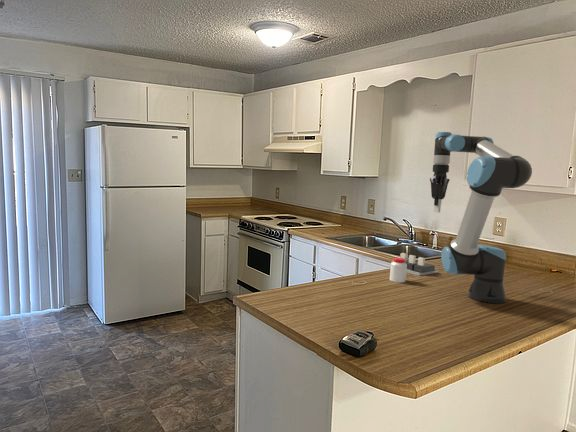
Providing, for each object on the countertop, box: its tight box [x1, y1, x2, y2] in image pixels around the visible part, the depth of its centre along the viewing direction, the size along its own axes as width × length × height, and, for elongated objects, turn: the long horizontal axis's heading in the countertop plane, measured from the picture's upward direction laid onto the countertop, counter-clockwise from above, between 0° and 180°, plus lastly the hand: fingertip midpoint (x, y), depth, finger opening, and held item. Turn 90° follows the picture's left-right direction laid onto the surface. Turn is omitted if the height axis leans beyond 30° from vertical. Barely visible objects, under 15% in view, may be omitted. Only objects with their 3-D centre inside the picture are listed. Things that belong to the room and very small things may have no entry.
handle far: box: [417, 256, 426, 266], centre depth 232 cm, size 3×2×4 cm, turn 36°
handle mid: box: [408, 254, 417, 264], centre depth 237 cm, size 3×2×4 cm, turn 36°
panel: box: [405, 258, 439, 277], centre depth 239 cm, size 18×16×4 cm
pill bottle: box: [389, 257, 407, 284], centre depth 215 cm, size 8×8×11 cm
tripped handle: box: [399, 252, 408, 261], centre depth 242 cm, size 3×2×4 cm, turn 35°
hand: (436, 212), depth 217 cm, fingers closed
